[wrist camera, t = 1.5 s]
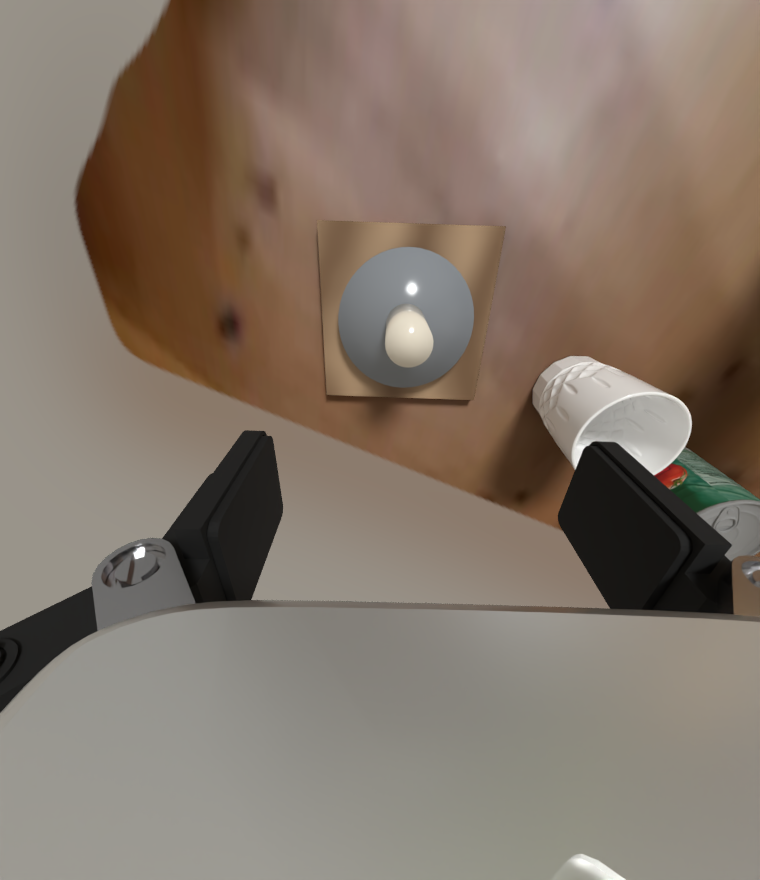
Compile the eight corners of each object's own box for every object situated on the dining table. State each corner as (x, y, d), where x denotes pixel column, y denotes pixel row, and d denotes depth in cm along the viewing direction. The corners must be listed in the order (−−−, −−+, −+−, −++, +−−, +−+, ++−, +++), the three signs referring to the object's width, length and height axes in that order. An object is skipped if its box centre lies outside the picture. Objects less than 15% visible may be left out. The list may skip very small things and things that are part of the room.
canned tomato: (671, 484, 38) (763, 565, 29) (596, 496, 40) (661, 578, 30) (685, 423, 34) (796, 493, 25) (601, 438, 36) (678, 511, 26)
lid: (481, 248, 26) (510, 252, 20) (460, 384, 32) (477, 420, 26) (337, 244, 26) (321, 247, 20) (342, 380, 32) (330, 415, 26)
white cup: (558, 439, 36) (611, 503, 27) (508, 394, 33) (549, 449, 25) (628, 384, 33) (713, 438, 24) (578, 330, 30) (654, 368, 22)
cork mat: (502, 226, 26) (505, 226, 25) (471, 395, 33) (473, 400, 33) (319, 220, 26) (316, 220, 26) (328, 390, 34) (326, 394, 33)
